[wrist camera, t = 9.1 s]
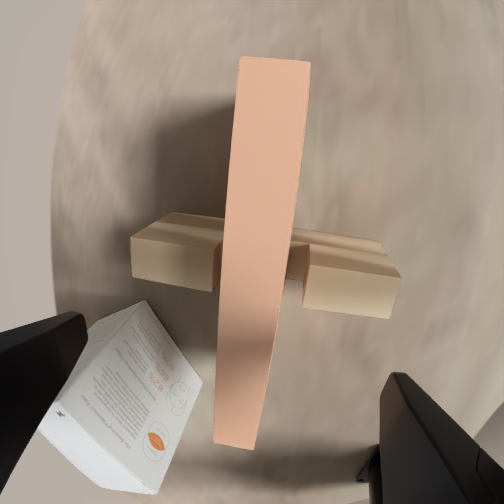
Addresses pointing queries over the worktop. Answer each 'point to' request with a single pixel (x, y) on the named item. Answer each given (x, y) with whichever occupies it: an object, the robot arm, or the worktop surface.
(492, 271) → the worktop surface
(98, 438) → the small box
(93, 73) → the worktop surface
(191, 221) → the birch notched block
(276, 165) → the terracotta plate
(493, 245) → the worktop surface
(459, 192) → the worktop surface
